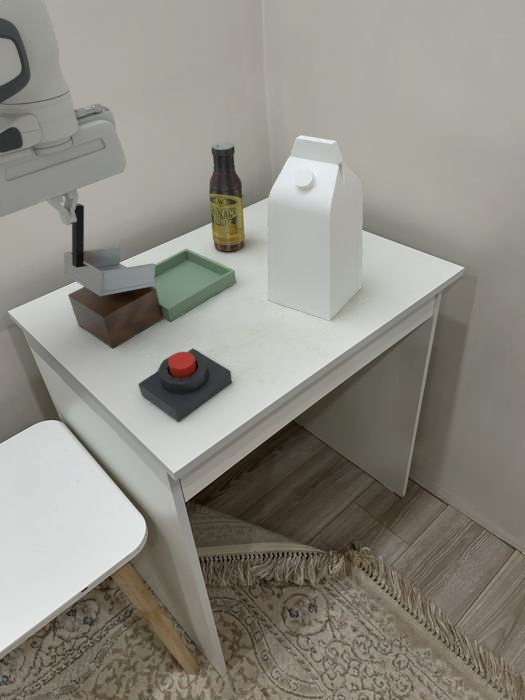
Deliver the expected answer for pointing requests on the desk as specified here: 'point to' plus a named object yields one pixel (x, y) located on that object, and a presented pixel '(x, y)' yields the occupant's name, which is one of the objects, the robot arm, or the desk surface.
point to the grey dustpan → (102, 265)
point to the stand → (116, 313)
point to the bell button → (182, 364)
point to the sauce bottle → (226, 200)
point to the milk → (315, 230)
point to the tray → (188, 282)
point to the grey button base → (185, 386)
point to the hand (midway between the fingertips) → (70, 222)
